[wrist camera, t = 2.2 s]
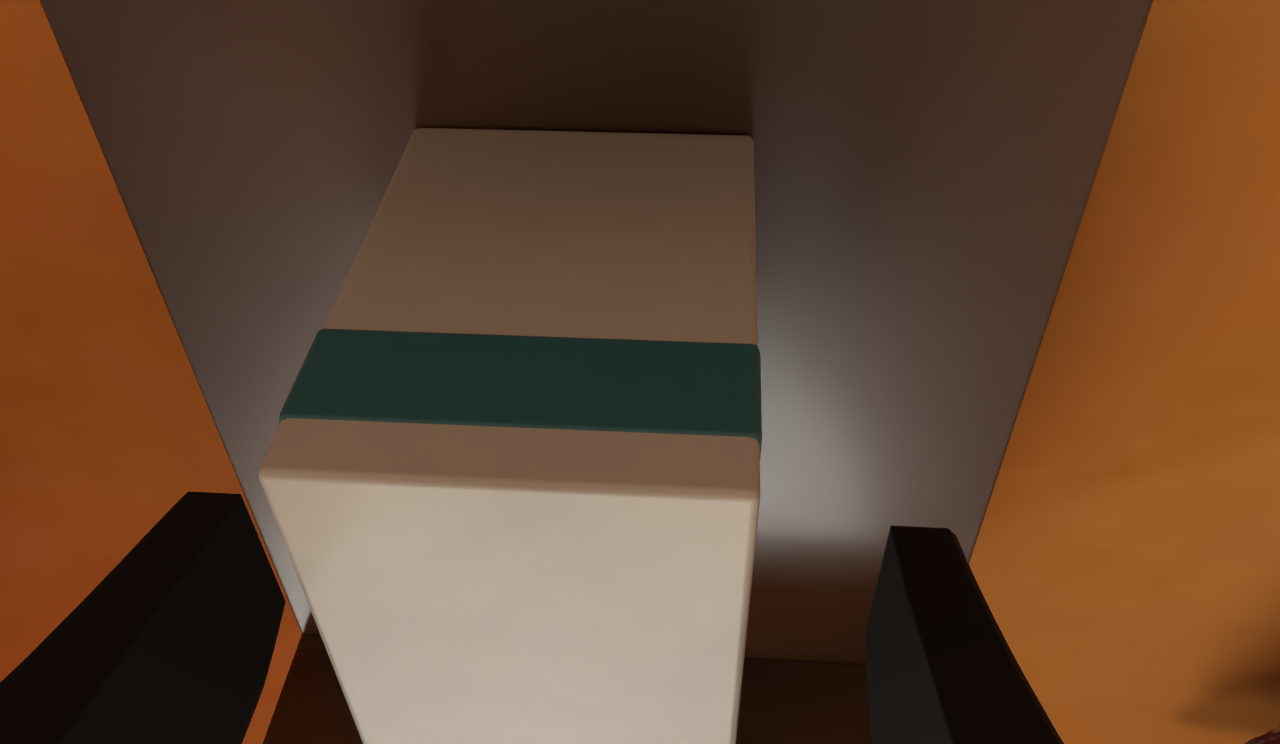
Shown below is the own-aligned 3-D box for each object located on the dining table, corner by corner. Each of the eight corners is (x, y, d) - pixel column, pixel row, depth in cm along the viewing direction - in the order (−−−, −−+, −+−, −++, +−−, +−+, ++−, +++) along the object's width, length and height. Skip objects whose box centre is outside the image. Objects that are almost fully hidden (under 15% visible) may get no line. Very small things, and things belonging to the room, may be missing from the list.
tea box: (481, 509, 17) (400, 850, 13) (411, 123, 12) (249, 472, 8) (729, 521, 17) (725, 872, 13) (756, 131, 12) (764, 495, 8)
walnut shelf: (358, 556, 23) (268, 824, 19) (21, -495, 11) (-462, -435, 7) (903, 583, 22) (944, 869, 18) (1192, -512, 10) (1536, -458, 6)
